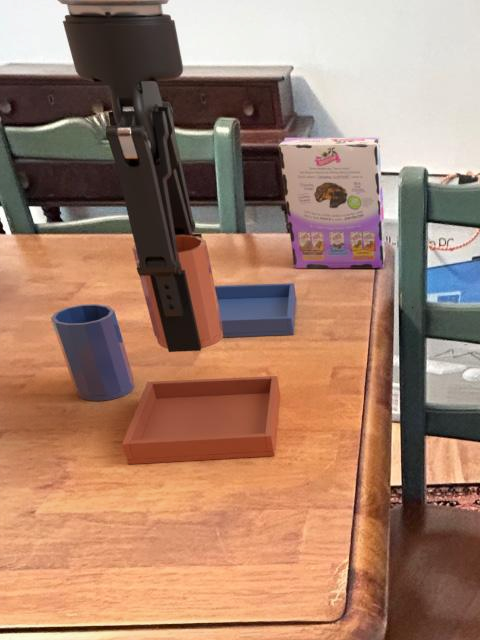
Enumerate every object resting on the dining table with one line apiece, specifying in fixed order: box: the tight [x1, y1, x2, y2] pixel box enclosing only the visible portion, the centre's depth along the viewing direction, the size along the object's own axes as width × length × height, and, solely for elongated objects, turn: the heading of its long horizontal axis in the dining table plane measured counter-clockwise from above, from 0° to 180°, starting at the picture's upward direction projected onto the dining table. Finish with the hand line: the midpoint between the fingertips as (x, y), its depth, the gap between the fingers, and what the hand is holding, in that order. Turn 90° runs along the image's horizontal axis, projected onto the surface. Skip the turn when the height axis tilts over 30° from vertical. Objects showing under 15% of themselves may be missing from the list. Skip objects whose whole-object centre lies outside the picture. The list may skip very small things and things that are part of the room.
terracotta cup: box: [131, 235, 224, 350], centre depth 64 cm, size 6×6×8 cm
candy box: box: [278, 137, 386, 269], centre depth 108 cm, size 14×6×16 cm, turn 90°
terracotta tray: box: [121, 375, 281, 465], centre depth 72 cm, size 13×13×2 cm
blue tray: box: [215, 282, 297, 339], centre depth 95 cm, size 13×13×2 cm
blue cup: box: [50, 303, 135, 402], centre depth 76 cm, size 6×6×8 cm
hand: (190, 335), depth 67 cm, fingers closed on terracotta cup, 6 cm apart
